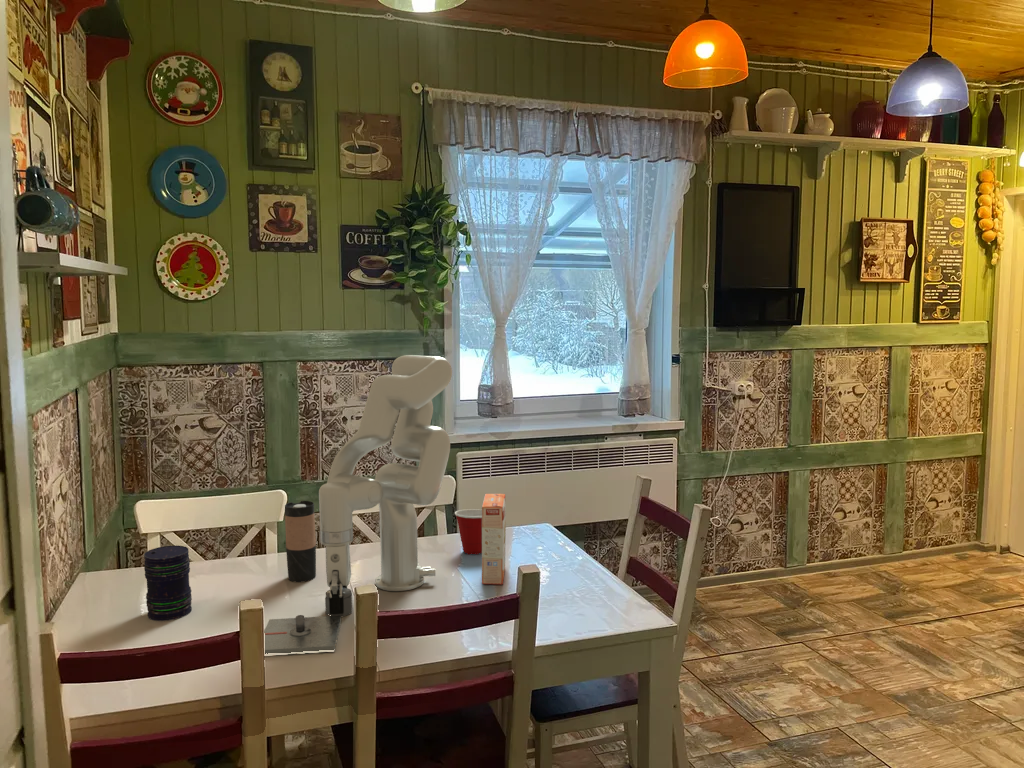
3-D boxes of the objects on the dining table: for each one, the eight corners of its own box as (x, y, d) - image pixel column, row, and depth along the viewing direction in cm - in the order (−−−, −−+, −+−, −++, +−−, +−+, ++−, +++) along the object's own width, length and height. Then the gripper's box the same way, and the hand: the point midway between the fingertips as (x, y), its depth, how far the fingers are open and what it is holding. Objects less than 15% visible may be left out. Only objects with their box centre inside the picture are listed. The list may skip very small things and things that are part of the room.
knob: (353, 606, 192) (352, 585, 191) (351, 616, 186) (350, 595, 186) (327, 607, 191) (326, 587, 191) (324, 617, 185) (324, 596, 185)
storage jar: (196, 603, 194) (193, 544, 193) (187, 619, 185) (183, 557, 183) (153, 606, 193) (149, 546, 191) (141, 622, 183) (137, 560, 182)
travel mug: (306, 583, 207) (303, 509, 205) (281, 580, 210) (278, 506, 207) (322, 574, 214) (319, 501, 212) (298, 571, 217) (295, 499, 214)
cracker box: (504, 585, 205) (503, 506, 203) (481, 585, 205) (480, 506, 203) (506, 566, 219) (506, 492, 217) (484, 566, 219) (484, 492, 217)
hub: (341, 621, 183) (340, 600, 182) (334, 652, 167) (333, 629, 167) (269, 625, 181) (268, 604, 180) (255, 657, 165) (254, 634, 165)
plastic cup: (497, 547, 235) (497, 508, 234) (483, 559, 225) (483, 518, 224) (464, 544, 239) (463, 505, 238) (448, 555, 229) (448, 514, 228)
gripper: (349, 546, 179) (352, 619, 180) (355, 524, 196) (357, 591, 197) (315, 547, 178) (318, 621, 179) (324, 525, 195) (326, 592, 197)
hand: (338, 605), depth 188 cm, fingers open, 9 cm apart
